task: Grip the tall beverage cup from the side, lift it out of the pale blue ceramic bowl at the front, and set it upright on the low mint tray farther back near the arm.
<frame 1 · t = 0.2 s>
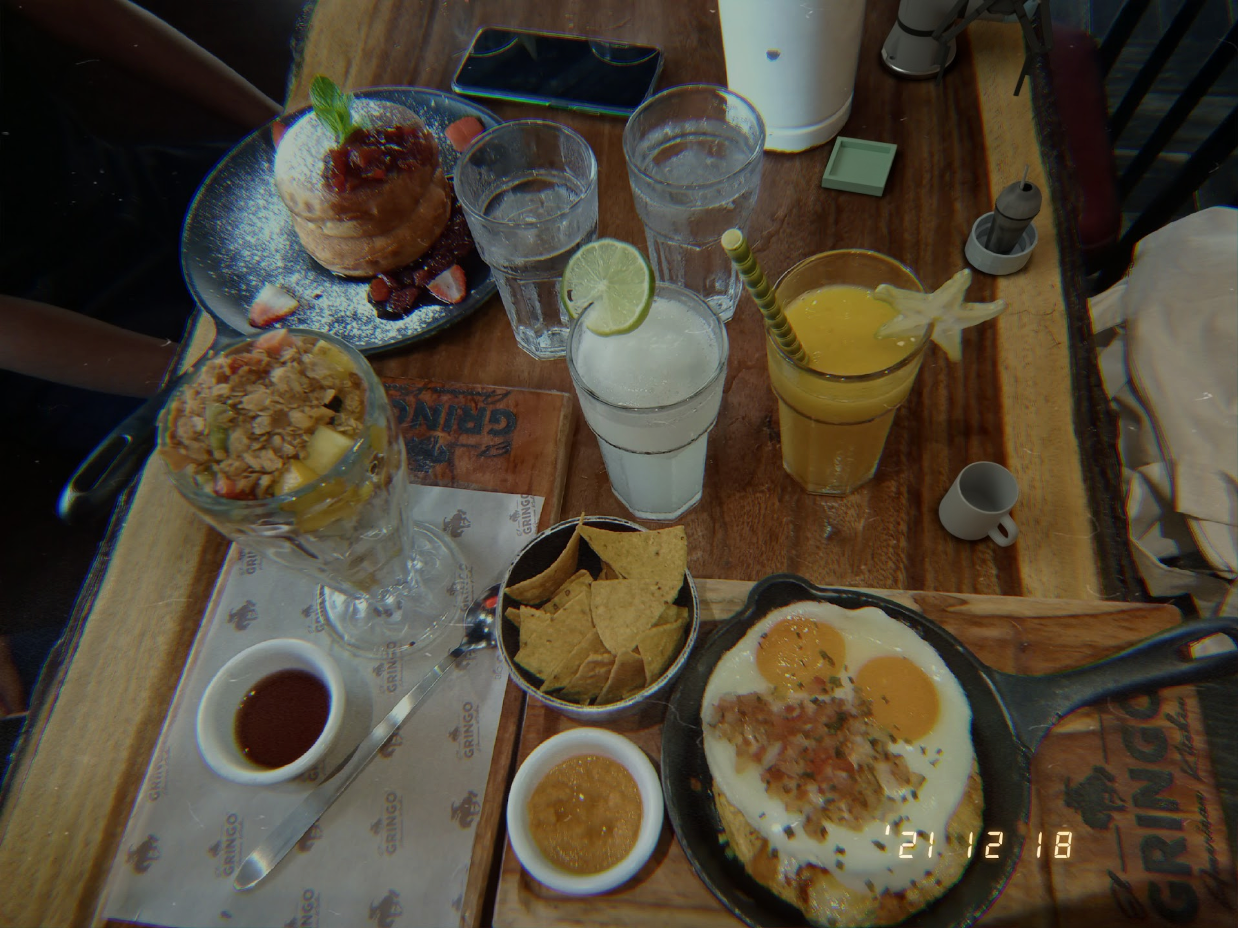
hand: (975, 91, 134), 15 cm above the table, tool tilted 35°, fingers open, 13 cm apart
mug: (973, 524, 114), on the table
bowl: (996, 252, 136), on the table
tray: (858, 170, 149), on the table
beverage cup: (996, 252, 136), resting on bowl
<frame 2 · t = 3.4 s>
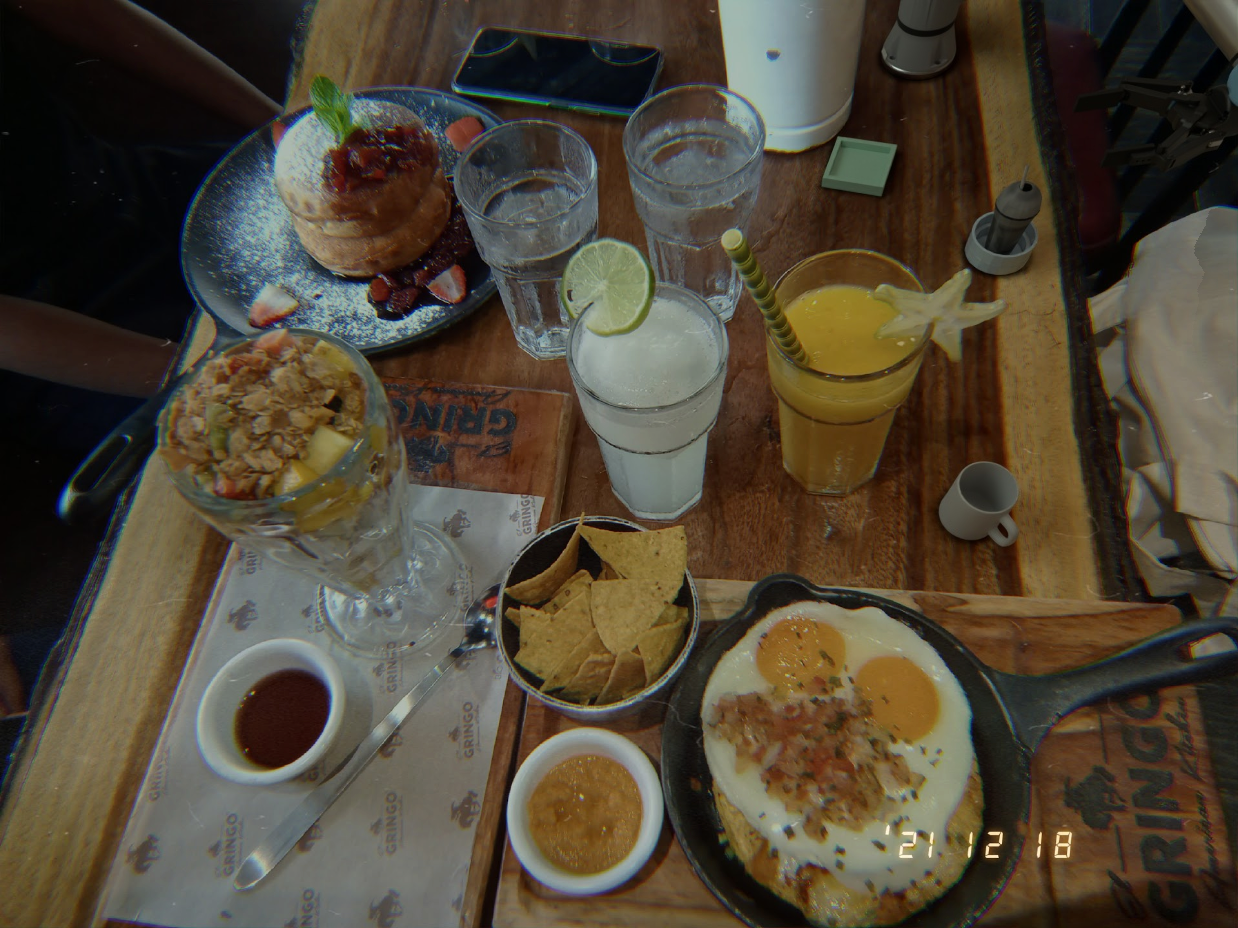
hand: (1088, 130, 115), 24 cm above the table, tool horizontal, fingers open, 13 cm apart
nothing on the table moved.
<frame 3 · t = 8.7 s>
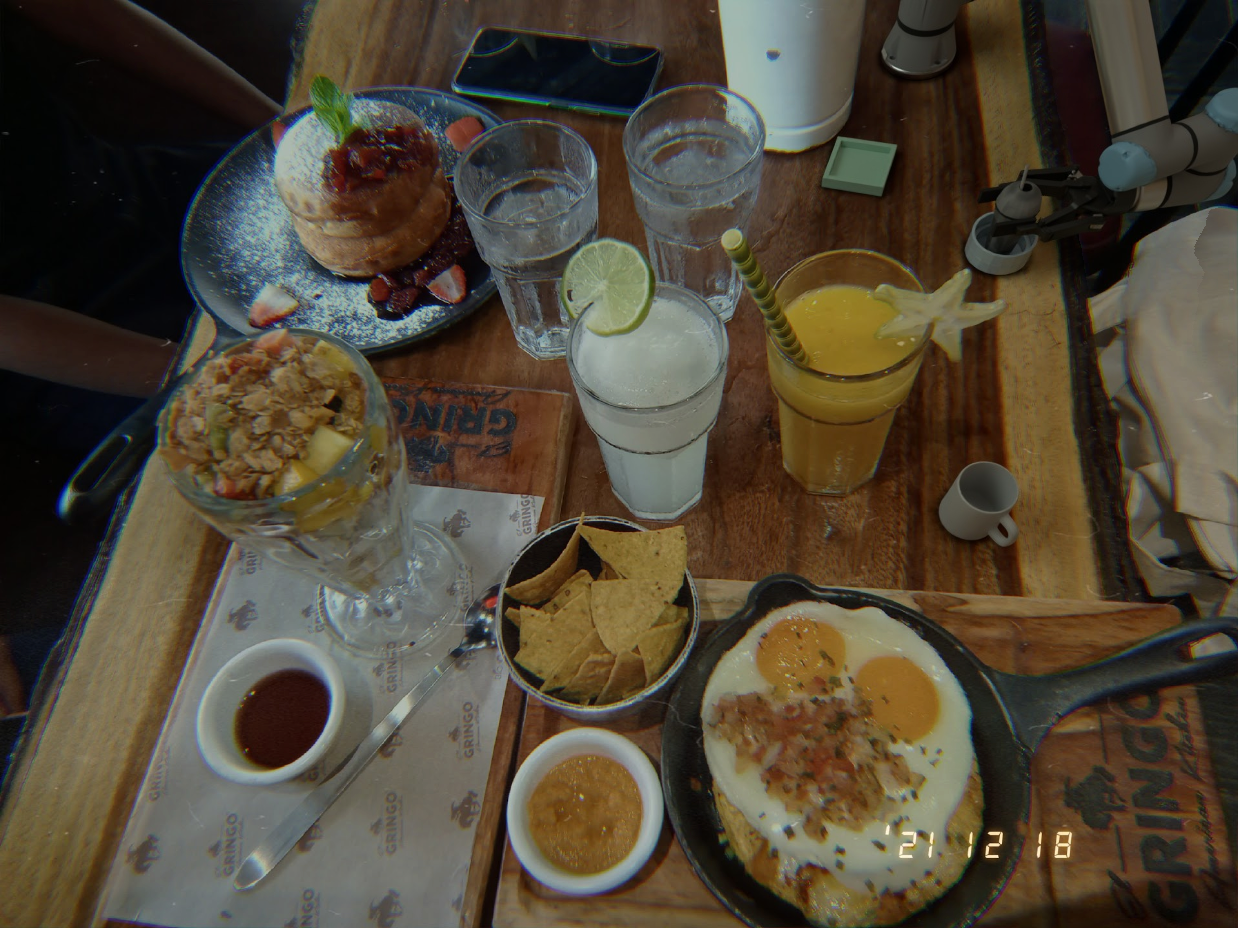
hand: (986, 213, 126), 11 cm above the table, tool horizontal, fingers closed on beverage cup, 7 cm apart
beverage cup: (996, 252, 136), resting on bowl, touching gripper
everything else where it was.
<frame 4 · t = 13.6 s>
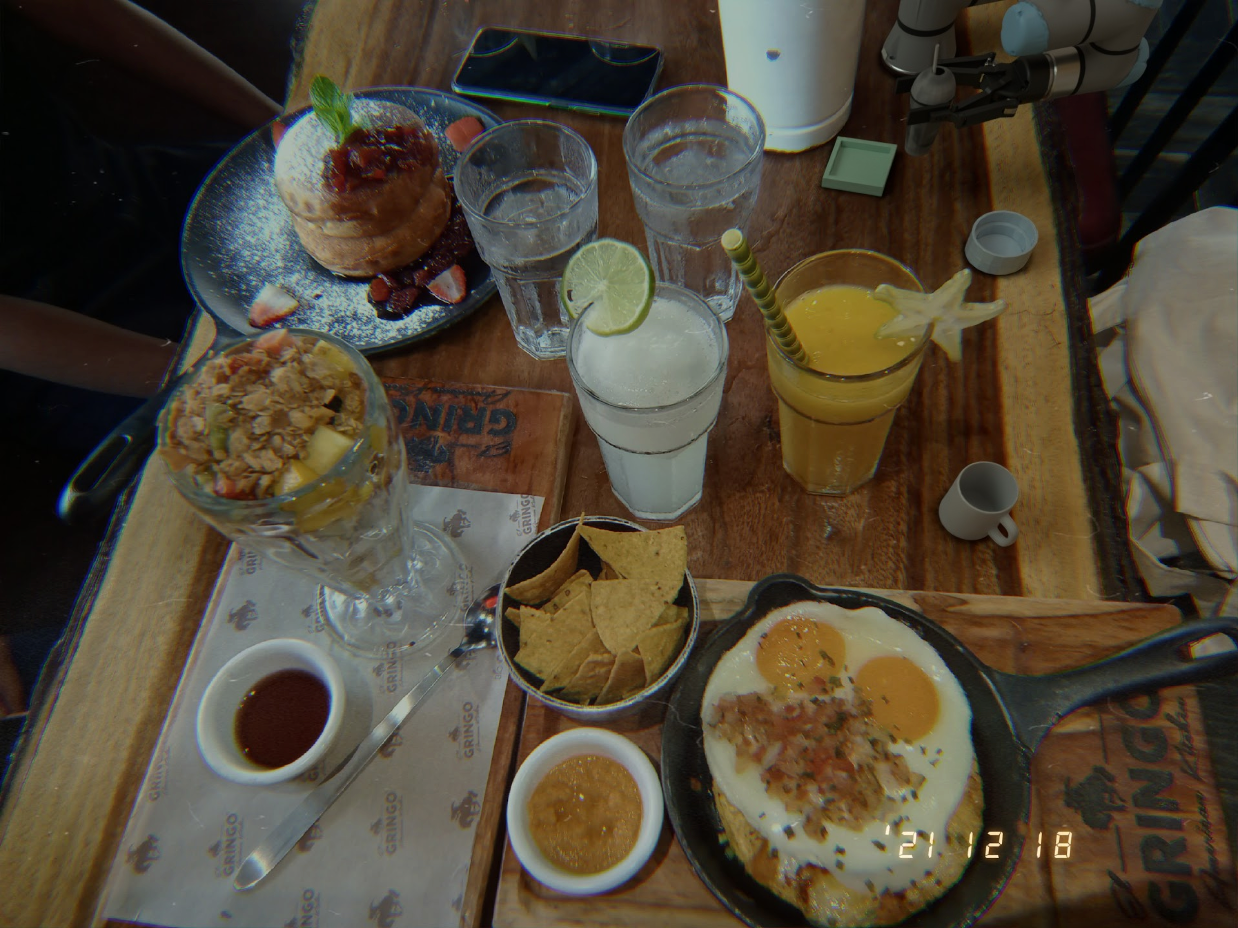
hand: (902, 102, 125), 23 cm above the table, tool horizontal, fingers closed on beverage cup, 7 cm apart
beverage cup: (917, 148, 134), point 12 cm above the table, touching gripper
everything else where it was.
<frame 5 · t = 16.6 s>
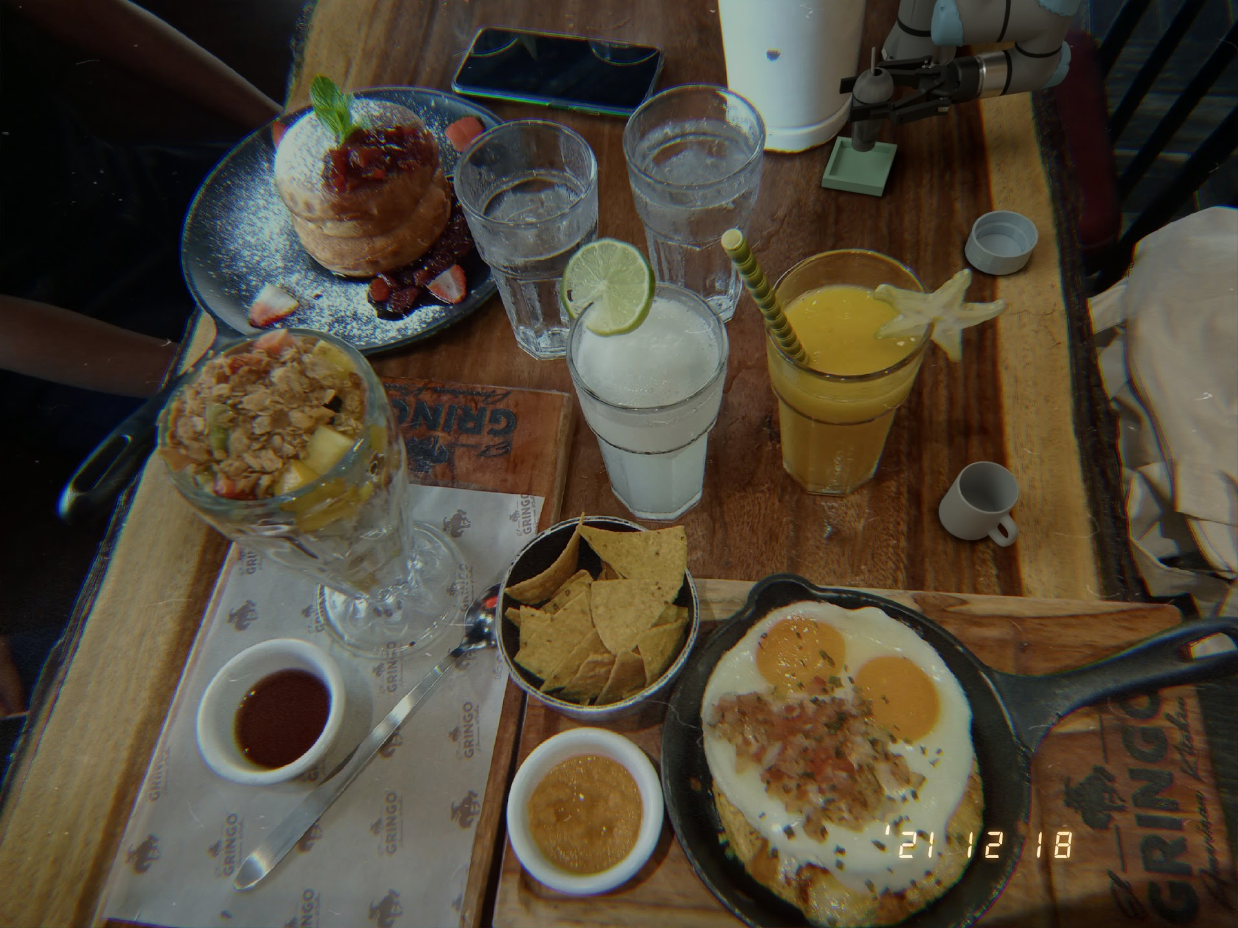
hand: (845, 100, 135), 17 cm above the table, tool horizontal, fingers closed on beverage cup, 7 cm apart
beverage cup: (863, 145, 144), point 6 cm above the table, touching gripper
everything else where it was.
when the fingers open (11 cm above the table, at t = 18.6 s): beverage cup stays where it is, resting on tray.
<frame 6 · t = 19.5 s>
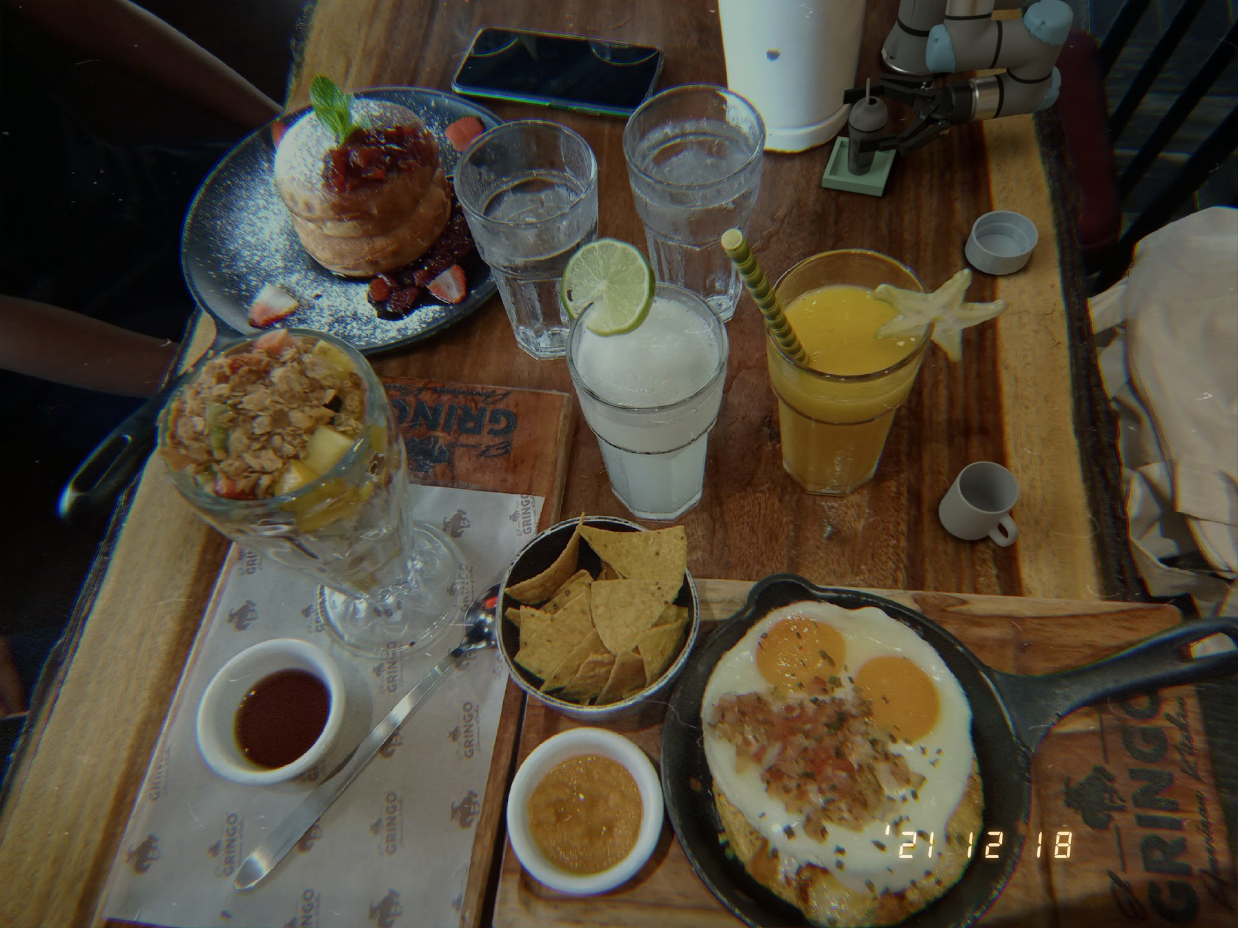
hand: (851, 121, 139), 12 cm above the table, tool horizontal, fingers open, 13 cm apart
beverage cup: (858, 168, 149), point 1 cm above the table, touching tray
everything else where it was.
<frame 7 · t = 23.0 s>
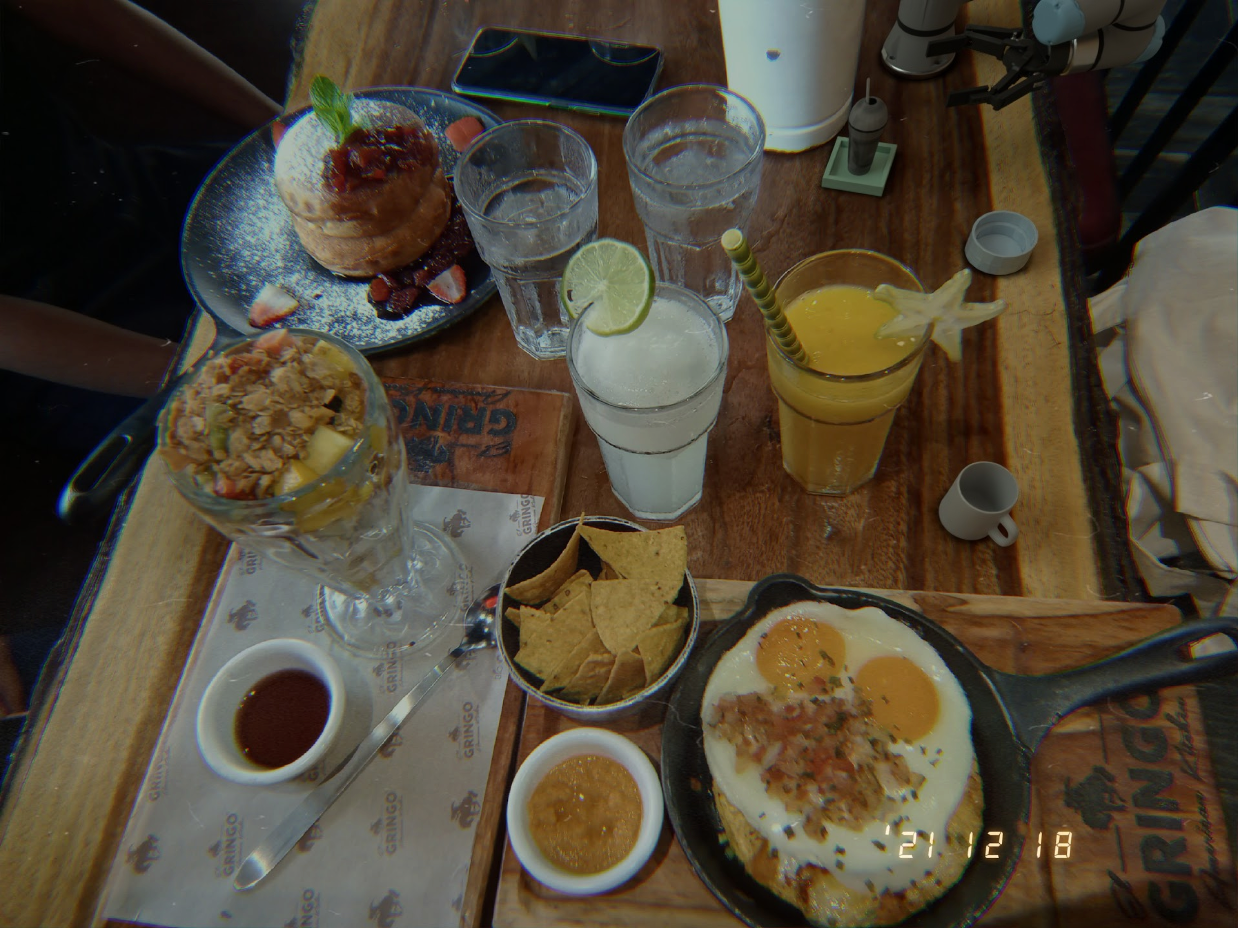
hand: (937, 74, 131), 20 cm above the table, tool horizontal, fingers open, 13 cm apart
nothing on the table moved.
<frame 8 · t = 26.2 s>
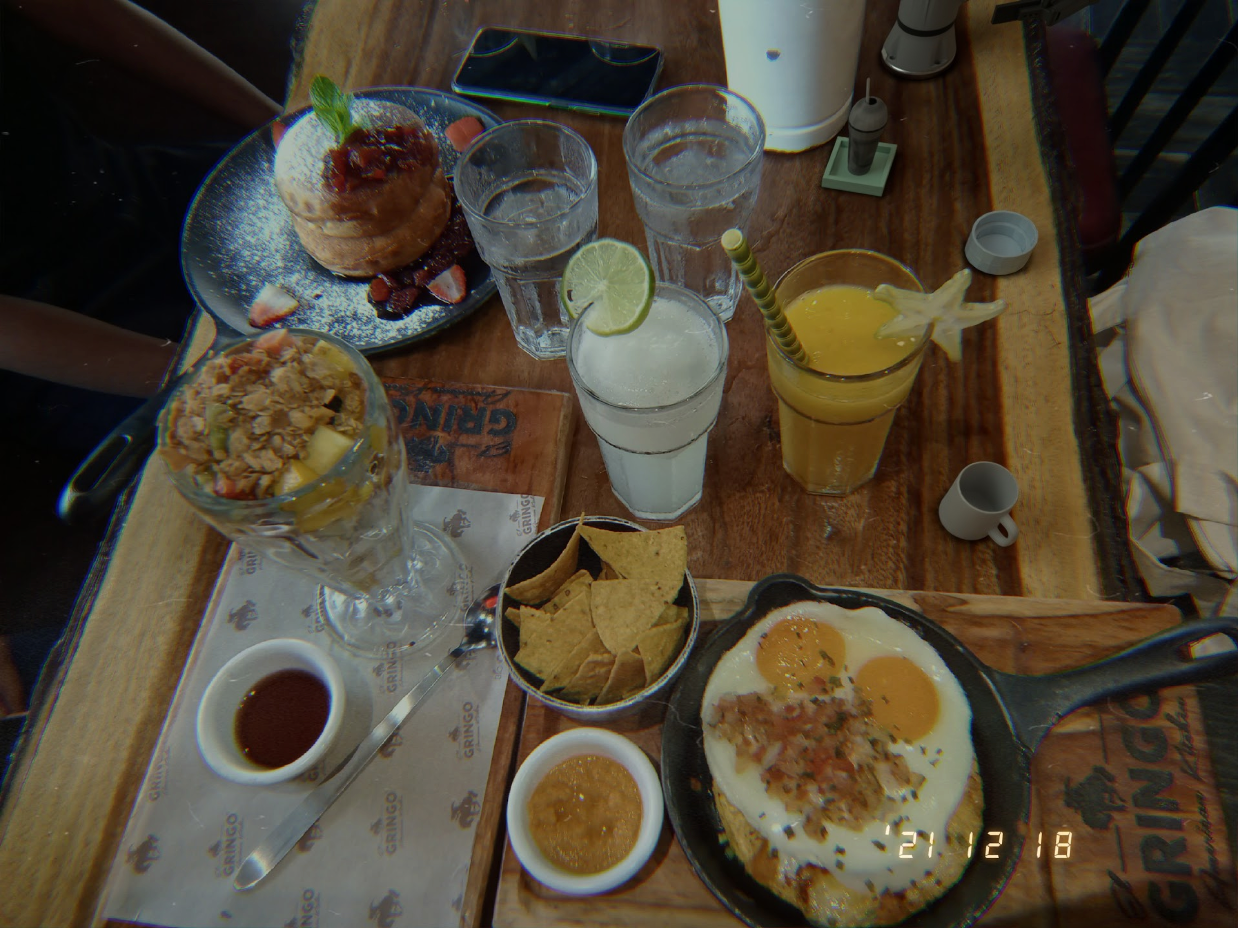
nothing on the table moved.
at the end: beverage cup 0.1 cm off-centre on the tray, point 0.6 cm above the tray's base; beverage cup tilted 0° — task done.
